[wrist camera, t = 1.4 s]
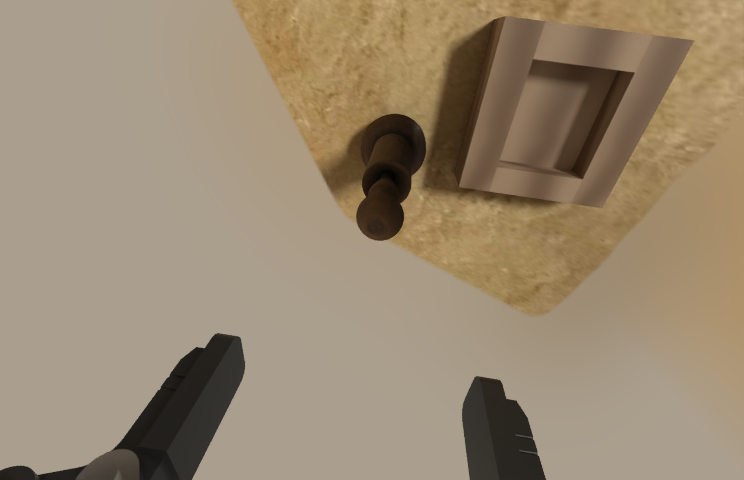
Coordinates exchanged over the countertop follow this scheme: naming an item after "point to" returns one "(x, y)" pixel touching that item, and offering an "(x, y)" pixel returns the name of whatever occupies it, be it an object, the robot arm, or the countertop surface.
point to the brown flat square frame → (562, 108)
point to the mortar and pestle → (388, 173)
